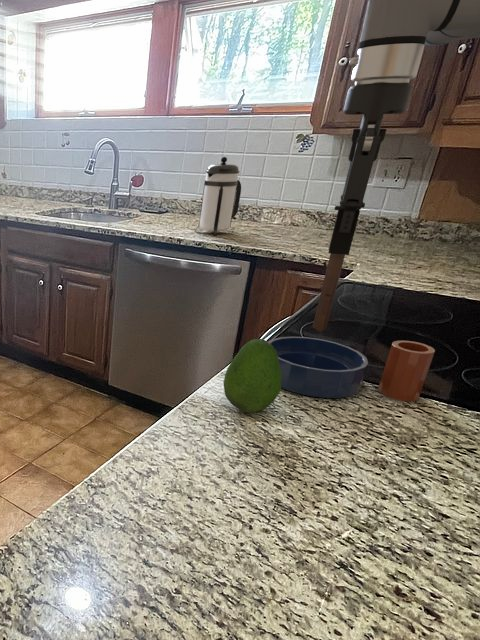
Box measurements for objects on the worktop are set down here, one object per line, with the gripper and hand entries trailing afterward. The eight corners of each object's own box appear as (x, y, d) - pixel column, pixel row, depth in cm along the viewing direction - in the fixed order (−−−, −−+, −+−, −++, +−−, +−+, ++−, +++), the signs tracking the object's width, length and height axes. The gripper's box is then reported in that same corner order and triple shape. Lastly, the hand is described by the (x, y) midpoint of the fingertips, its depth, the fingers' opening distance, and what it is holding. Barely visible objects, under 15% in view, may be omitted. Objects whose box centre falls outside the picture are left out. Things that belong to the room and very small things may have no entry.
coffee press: (235, 237, 212) (248, 157, 200) (194, 235, 217) (204, 157, 205) (234, 229, 227) (246, 155, 215) (195, 228, 232) (205, 155, 220)
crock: (396, 388, 88) (412, 339, 85) (426, 404, 83) (444, 352, 80) (368, 391, 88) (383, 341, 84) (396, 407, 83) (413, 354, 79)
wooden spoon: (312, 324, 89) (349, 175, 79) (326, 326, 88) (364, 176, 79) (311, 330, 87) (349, 177, 77) (325, 332, 86) (365, 177, 76)
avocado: (254, 427, 78) (269, 352, 73) (209, 406, 84) (220, 336, 79) (285, 412, 82) (301, 341, 77) (240, 393, 88) (253, 326, 83)
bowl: (315, 361, 99) (322, 334, 97) (381, 397, 86) (391, 367, 83) (242, 367, 97) (247, 339, 95) (297, 406, 83) (305, 375, 81)
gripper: (348, 87, 80) (313, 241, 90) (350, 81, 69) (309, 258, 78) (408, 85, 77) (365, 245, 86) (420, 77, 65) (368, 264, 75)
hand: (338, 251), depth 82 cm, fingers closed on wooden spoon, 2 cm apart
